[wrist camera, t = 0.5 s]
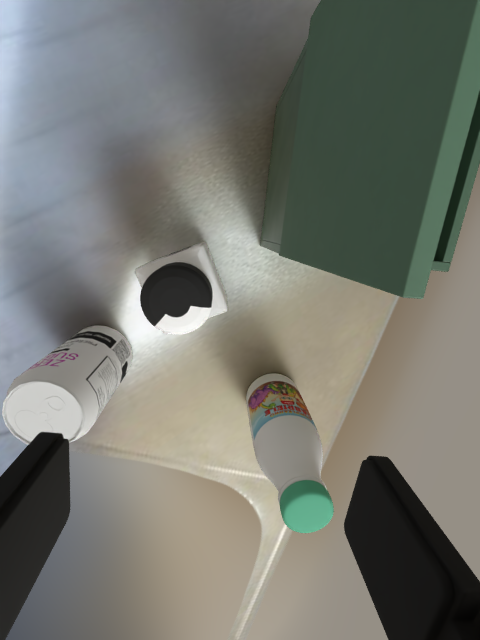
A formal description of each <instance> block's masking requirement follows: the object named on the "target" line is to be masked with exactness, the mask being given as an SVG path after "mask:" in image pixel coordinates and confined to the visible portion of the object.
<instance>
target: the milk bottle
mask: <svg viewBox="0 0 480 640" xmlns="http://www.w3.org/2000/svg"><path fill="white" fill-rule="evenodd" d="M246 402H247V410H248V417H249V423H250V429H251V435H252V441H253V446H254V451H255V455H256V458H257V461H258V464H259V466H260V468H261V470H262V471H263V473H264V474H265V476H266V477H267V478H268V479H269V480H270V481H271V482H272V483H273V484H274V486H275V487H276V488H277V490H278V492H279V494H278V501H279V504H280V510H281V514H282V518H283V520H284V522H285V524H286V525H287V526H288V527H289V528H290V529H292V530H293V531H296V532H300V533H310V532H315V531H317V530H320V529H321V528H323V527H324V526H326V525H327V524H328V523H329V521H330V520H331V518H332V516H333V512H334V511H333V503H332V500H331V497H330V495H329V493H328V491H327V488H326V485H325V484H324V482H323V481H322V480H321V467H322V460H323V451H322V444H321V440H320V437H319V434H318V431H317V429H316V427H315V424H314V422H313V420H312V418H311V416H310V414H309V411H308V409H307V407H306V405H305V403H304V401H303V399H302V397H301V395H300V393H299V391H298V389H297V387H296V385H295V384H294V382H293V381H292V380H291V379H289V378H288V377H286V376H284V375H281V374H276V373H272V374H266V375H263V376H261V377H259V378H257V379H256V380H255V381H254V382H253V383H252V384H251V385H250V387H249V389H248V391H247V395H246Z"/></svg>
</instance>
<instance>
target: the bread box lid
mask: <svg viewBox="0 0 480 640" xmlns="http://www.w3.org/2000/svg"><path fill="white" fill-rule="evenodd" d="M479 91H480V0H321V1H320V3H319V5H318V6H317V8H316V10H315V11H314V13H313V15H312V17H311V21H310V28H309V36H308V43H307V51H306V58H305V65H304V73H303V80H302V88H301V95H300V103H299V110H298V118H297V125H296V132H295V140H294V147H293V155H292V162H291V170H290V177H289V185H288V192H287V199H286V207H285V214H284V222H283V229H282V237H281V244H280V252H279V255H280V256H283V257H285V258H288V259H291V260H294V261H297V262H300V263H303V264H306V265H309V266H312V267H315V268H318V269H321V270H324V271H327V272H330V273H333V274H335V275H338V276H341V277H344V278H347V279H350V280H353V281H356V282H359V283H362V284H365V285H368V286H371V287H374V288H377V289H380V290H383V291H385V292H388V293H391V294H394V295H397V296H400V297H405V298H417V299H422V298H423V297H424V293H425V289H426V286H427V282H428V279H429V275H430V271H431V268H432V264H433V260H434V257H435V253H436V249H437V245H438V242H439V238H440V234H441V231H442V227H443V223H444V220H445V216H446V212H447V209H448V205H449V201H450V198H451V194H452V190H453V186H454V183H455V179H456V175H457V172H458V168H459V164H460V161H461V157H462V153H463V150H464V146H465V142H466V139H467V135H468V131H469V128H470V124H471V120H472V116H473V113H474V109H475V105H476V102H477V98H478V94H479Z"/></svg>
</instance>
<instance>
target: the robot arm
mask: <svg viewBox="0 0 480 640" xmlns="http://www.w3.org/2000/svg"><path fill="white" fill-rule="evenodd" d="M69 475H70V472H69V440H68V439H64V437H63V434H62V433H52V432H40V433H39V434H38V435H37V436H36V437H35V438H34V439H33V440H32V441H31V443H30V444H29V445H28V446H27V447H26V448H25V449H24V451H23V452H22V453H21V454H20V455H19V456H18V457H17V458H16V460H15V461H14V462H13V463H12V464H11V465H10V466H9V468H8V469H7V470H6V471H5V472H4V473H3V474H2V476H1V477H0V640H5V639H6V637H7V635H8V633H9V631H10V629H11V627H12V626H13V624H14V622H15V620H16V618H17V616H18V614H19V612H20V610H21V608H22V606H23V605H24V603H25V601H26V599H27V597H28V595H29V593H30V591H31V589H32V587H33V585H34V583H35V582H36V579H37V578H38V576H39V574H40V572H41V570H42V568H43V566H44V564H45V562H46V560H47V558H48V557H49V555H50V553H51V551H52V549H53V547H54V545H55V543H56V541H57V539H58V537H59V535H60V533H61V531H62V530H63V528H64V526H65V524H66V522H67V519H68V517H69V513H70V476H69ZM344 529H345V534H346V537H347V539H348V542H349V544H350V547H351V549H352V552H353V554H354V556H355V559H356V561H357V564H358V566H359V569H360V571H361V574H362V576H363V579H364V581H365V583H366V586H367V588H368V591H369V593H370V596H371V598H372V601H373V603H374V605H375V608H376V610H377V612H378V615H379V618H380V620H381V623H382V625H383V627H384V630H385V632H386V635H387V637H388V639H389V640H480V581H479V580H478V579H477V577H476V576H475V575H474V573H473V572H472V570H471V569H470V568H469V566H468V565H467V564H466V562H465V561H464V560H463V558H462V557H461V555H460V554H459V553H458V551H457V550H456V549H455V547H454V546H453V545H452V543H451V542H450V540H449V539H448V538H447V536H446V535H445V534H444V532H443V531H442V530H441V528H440V527H439V525H438V524H437V523H436V521H435V520H434V519H433V517H432V516H431V515H430V513H429V512H428V510H427V509H426V508H425V507H424V505H423V504H422V502H421V501H420V500H419V498H418V497H417V495H416V494H415V493H414V492H413V490H412V489H411V487H410V486H409V485H408V483H407V482H406V481H405V479H404V478H403V477H402V475H401V474H400V472H399V471H398V470H397V468H396V467H395V466H394V464H393V463H392V461H391V460H390V459H389V458H388V457H382V456H369V457H367V459H366V460H364V461H363V462H362V464H361V467H360V471H359V474H358V478H357V481H356V484H355V488H354V491H353V495H352V498H351V501H350V505H349V508H348V511H347V515H346V518H345V522H344Z"/></svg>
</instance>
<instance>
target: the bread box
mask: <svg viewBox="0 0 480 640" xmlns="http://www.w3.org/2000/svg"><path fill="white" fill-rule="evenodd" d="M307 43H308V39H307V41H306V43H305V45H304V48H303V50H302V52H301V54H300V56H299V58H298V61H297V63H296V65H295V67H294V69H293V71H292V74H291V76H290V78H289V80H288V82H287V84H286V86H285V89H284V91H283V93H282V95H281V97H280V99H279V102H278V104H277V106H276V114H275V123H274V131H273V140H272V148H271V157H270V165H269V174H268V182H267V191H266V200H265V208H264V217H263V225H262V234H261V242H260V246H262V247H265V248H267V249H269V250H272V251H274V252H277V253H279V252H280V244H281V237H282V229H283V222H284V214H285V207H286V199H287V192H288V185H289V177H290V170H291V162H292V155H293V147H294V140H295V132H296V125H297V118H298V110H299V103H300V95H301V88H302V80H303V73H304V65H305V58H306V51H307ZM479 164H480V91H479V94H478V98H477V102H476V105H475V109H474V113H473V116H472V120H471V124H470V128H469V131H468V135H467V139H466V142H465V146H464V150H463V153H462V157H461V161H460V164H459V168H458V172H457V175H456V179H455V183H454V186H453V190H452V194H451V198H450V201H449V205H448V209H447V212H446V216H445V220H444V223H443V227H442V231H441V234H440V238H439V242H438V245H437V249H436V253H435V257H434V260H433V264H432V268H431V270H435V271H444V272H448V271H449V267H450V264H451V263H450V262H451V261H452V258H453V254H454V251H455V247H456V244H457V240H458V237H459V233H460V230H461V226H462V223H463V219H464V216H465V212H466V209H467V205H468V202H469V198H470V195H471V191H472V188H473V184H474V181H475V178H476V174H477V171H478V167H479Z"/></svg>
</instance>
